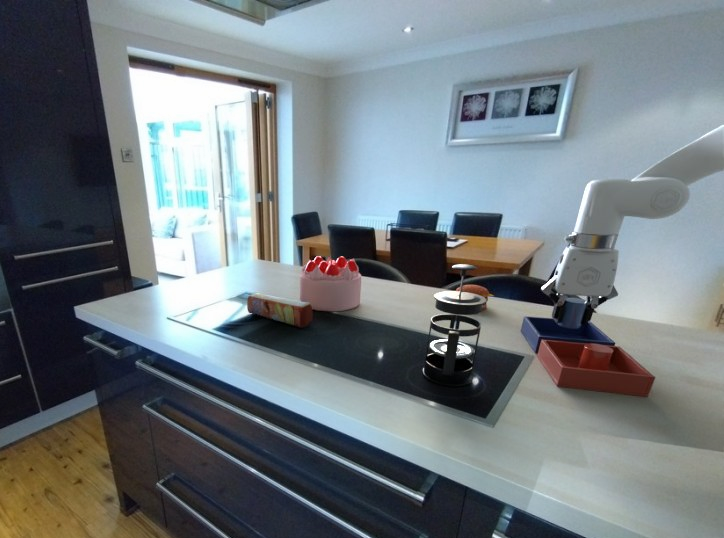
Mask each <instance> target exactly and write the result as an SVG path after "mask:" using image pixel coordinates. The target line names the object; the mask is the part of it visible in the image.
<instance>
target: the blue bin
mask: <svg viewBox="0 0 724 538" xmlns="http://www.w3.org/2000/svg"><path fill="white" fill-rule="evenodd" d="M520 333H521V334H522V336H523V337H524V339H525V340H526V341H527V343H528V345H529V346H530V348H531V349H532V351H533V352H534V353H535V354H538V351H539V347H540V343H541V340H552V341H564V342H575V343H586V344H590V343H592V344H600V345H609V346H616V342H615V341H614V340H612V339H611V338H610V337H609V336H608V335H607V334H605V332H603V331H602V330H601V329H600V328H598V327H597V326H596V325H595V324H594V323H593V322H591V320H590V321H588V324H587V325H583V324H582V323H581V327H580V328H577V329H572V328H565V327H562V326H559V325H558V324H557V323H556V322H555V321H554V320H553V318H552V317H541V316H540V317H539V316H525V315H524V316H523V319H522V322H521V327H520Z"/></svg>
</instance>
